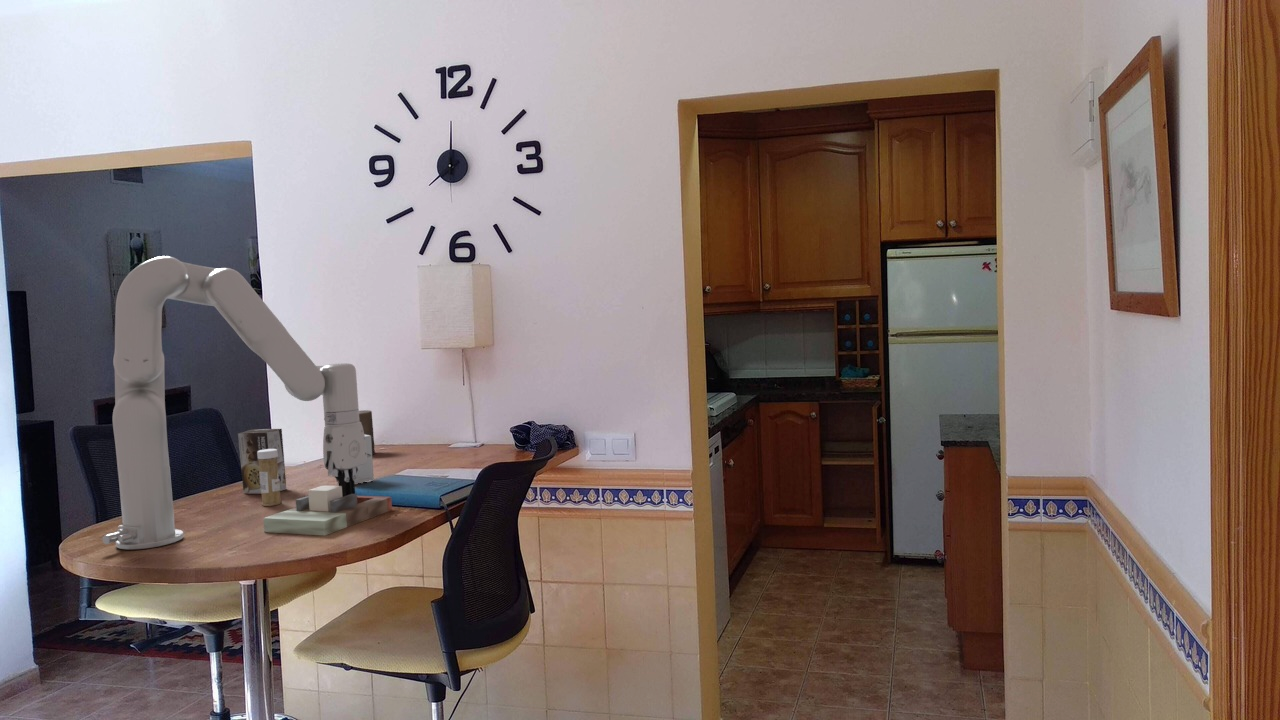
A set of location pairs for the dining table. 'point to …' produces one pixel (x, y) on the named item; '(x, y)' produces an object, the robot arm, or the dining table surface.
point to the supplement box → (366, 464)
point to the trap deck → (327, 515)
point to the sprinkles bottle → (269, 477)
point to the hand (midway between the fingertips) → (347, 498)
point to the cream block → (323, 497)
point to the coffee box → (249, 460)
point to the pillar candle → (367, 425)
